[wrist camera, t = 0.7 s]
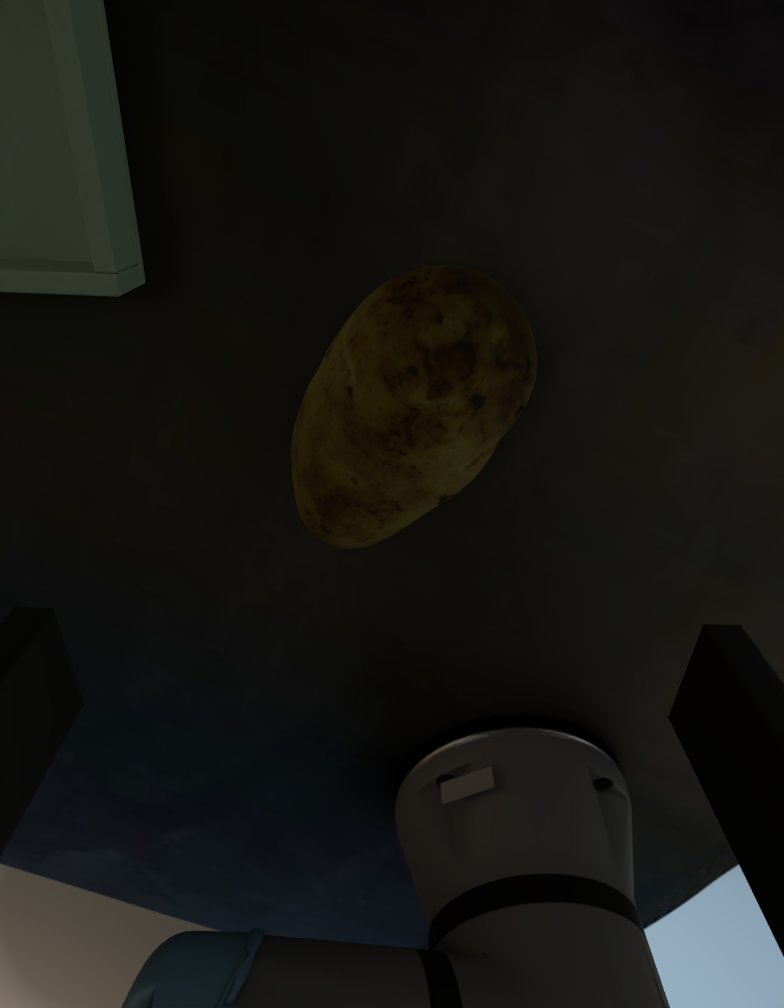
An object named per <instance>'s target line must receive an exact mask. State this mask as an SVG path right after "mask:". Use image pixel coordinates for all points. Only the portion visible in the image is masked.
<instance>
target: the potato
mask: <svg viewBox="0 0 784 1008" xmlns="http://www.w3.org/2000/svg"><path fill="white" fill-rule="evenodd" d="M537 375H538V347H537V346H536V345H535V340H534V336H533V333H532V330H531V327H530V324H529V322H528V320H527V318H526V316H525V314H524V312H523V310H522V308H521V307H520V305H519V304H518V303H517V302H516V300H515V299H514V298H513V297H512V295H510V294H509V293H508V292H507V291H506V290H505V289H504V288H503V287H502V286H501V285H500V284H499V283H498V282H497V281H495V280H494V279H493V278H491V277H490V276H488V275H486V274H484V273H483V272H481V271H479V270H476V269H473V268H470V267H466V266H461V265H439V264H427V265H425V266H423V267H421V268H418V269H414V270H411V271H408V272H406V273H403V274H401V275H399V276H397V277H395V278H393V279H391V280H389V281H387V282H386V283H384V284H382V285H381V286H379V287H378V288H377V289H376V290H374V291H373V292H372V293H371V294H370V295H369V296H368V297H367V298H366V299H365V300H364V301H363V302H362V303H361V304H360V305H359V306H358V308H357V309H356V310H355V311H354V312H353V314H352V315H351V316H350V317H349V318H348V320H347V321H346V323H345V324H344V325H343V327H342V328H341V330H340V331H339V333H338V334H337V336H336V337H335V339H334V340H333V342H332V344H331V345H330V347H329V349H328V351H327V352H326V354H325V356H324V358H323V361H322V363H321V364H320V366H319V368H318V370H317V372H316V374H315V375H314V377H313V378H312V380H311V381H310V383H309V385H308V388H307V390H306V392H305V395H304V397H303V400H302V403H301V406H300V409H299V412H298V415H297V419H296V422H295V427H294V432H293V437H292V444H291V472H292V479H293V486H294V493H295V500H296V504H297V508H298V511H299V514H300V517H301V519H302V521H303V523H304V524H305V526H306V527H307V529H308V530H309V531H310V532H311V533H312V535H313V536H315V537H316V538H318V539H319V540H321V541H323V542H325V543H327V544H330V545H333V546H337V547H340V548H350V549H353V548H362V547H366V546H370V545H373V544H376V543H378V542H380V541H382V540H384V539H386V538H388V537H390V536H391V535H393V534H395V533H396V532H398V531H400V530H401V529H403V528H405V527H406V526H408V525H409V524H411V523H412V522H414V521H415V520H416V519H418V518H419V517H421V516H422V515H424V514H425V513H427V512H428V511H430V510H431V509H433V508H434V507H436V506H437V505H439V504H440V505H441V504H443V503H444V502H445V501H449V500H451V499H453V498H454V497H456V496H458V495H459V494H460V491H461V489H462V488H464V487H465V486H466V485H467V484H468V483H469V482H471V481H472V480H473V479H474V478H475V477H476V475H477V474H478V473H479V472H480V470H481V469H482V468H483V467H484V465H485V464H486V463H487V461H488V460H489V458H490V457H491V455H492V454H493V452H494V450H495V448H496V446H497V445H498V443H499V440H500V438H501V437H502V436H503V435H504V434H505V433H506V432H507V431H508V430H509V429H510V428H511V426H512V425H513V424H514V423H515V422H516V420H517V419H518V417H519V416H520V414H521V413H522V411H523V409H524V408H525V406H526V404H527V402H528V400H529V397H530V394H531V393H532V392H531V391H532V389H533V386H534V382H535V379H536V377H537Z"/></svg>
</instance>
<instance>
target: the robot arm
mask: <svg viewBox="0 0 784 1008" xmlns="http://www.w3.org/2000/svg"><path fill="white" fill-rule="evenodd" d="M83 705H84V703H83V700H82V697H81V694H80V691H79V688H78V685H77V681H76V678H75V675H74V672H73V669H72V666H71V663H70V660H69V656H68V653H67V650H66V647H65V644H64V641H63V638H62V634H61V631H60V628H59V625H58V622H57V619H56V616H55V613H54V609H53V608H18V607H14V609H13V610H12V611H11V612H10V614H9V615H8V616H7V617H6V618H5V620H4V621H3V622H2V623H1V625H0V856H1V854H2V852H3V851H4V849H5V847H6V845H7V843H8V841H9V840H10V838H11V836H12V834H13V832H14V831H15V829H16V827H17V825H18V823H19V821H20V820H21V818H22V816H23V814H24V812H25V811H26V809H27V807H28V805H29V803H30V801H31V800H32V798H33V796H34V794H35V792H36V790H37V789H38V787H39V785H40V783H41V781H42V780H43V778H44V776H45V774H46V772H47V770H48V769H49V767H50V765H51V763H52V761H53V760H54V758H55V756H56V754H57V752H58V750H59V749H60V747H61V745H62V743H63V741H64V739H65V738H66V736H67V734H68V732H69V730H70V729H71V727H72V725H73V723H74V721H75V719H76V718H77V716H78V714H79V712H80V710H81V709H82V707H83ZM668 718H669V720H670V722H671V724H672V726H673V728H674V730H675V732H676V734H677V736H678V738H679V741H680V743H681V745H682V747H683V749H684V751H685V753H686V755H687V757H688V759H689V761H690V763H691V765H692V767H693V770H694V772H695V774H696V776H697V778H698V780H699V782H700V784H701V786H702V788H703V790H704V792H705V794H706V797H707V799H708V801H709V803H710V805H711V807H712V809H713V811H714V813H715V815H716V817H717V819H718V821H719V824H720V826H721V828H722V830H723V832H724V834H725V836H726V838H727V840H728V842H729V844H730V846H731V848H732V850H733V853H734V855H735V857H736V859H737V861H738V863H739V865H740V867H741V869H742V871H743V873H744V875H745V877H746V880H747V881H748V884H749V886H750V888H751V890H752V892H753V894H754V896H755V898H756V900H757V902H758V904H759V906H760V909H761V910H762V913H763V915H764V917H765V919H766V921H767V923H768V925H769V927H770V929H771V931H772V933H773V936H774V938H775V940H776V942H777V944H778V946H779V948H780V950H781V952H782V954H783V956H784V684H783V683H782V681H781V680H780V679H779V677H778V676H777V675H776V673H775V672H774V670H773V669H772V668H771V666H770V665H769V664H768V662H767V661H766V659H765V658H764V657H763V655H762V654H761V653H760V651H759V650H758V648H757V647H756V646H755V644H754V643H753V641H752V640H751V639H750V637H749V636H748V635H747V633H746V632H745V630H744V629H743V628H742V626H741V625H712V624H703V627H702V629H701V632H700V635H699V637H698V640H697V643H696V645H695V648H694V651H693V653H692V656H691V658H690V661H689V664H688V666H687V669H686V672H685V674H684V677H683V680H682V682H681V685H680V687H679V690H678V693H677V695H676V698H675V701H674V703H673V706H672V709H671V711H670V714H669V716H668ZM395 821H396V828H397V834H398V838H399V841H400V844H401V847H402V850H403V853H404V856H405V858H406V861H407V864H408V867H409V870H410V873H411V876H412V878H413V881H414V884H415V887H416V890H417V893H418V896H419V898H420V901H421V904H422V907H423V910H424V913H425V916H426V919H427V923H428V933H429V950H420V949H412V948H404V947H392V946H381V945H370V944H359V943H348V942H337V941H326V940H315V939H304V938H293V937H282V936H271V935H263V934H264V930H263V929H259V928H254V929H253V930H251V931H250V932H249V933H247V932H217V931H215V932H214V931H186V932H182V933H179V934H176V935H174V936H172V937H170V938H169V939H167V940H166V941H165V942H164V943H162V944H161V945H160V946H159V947H158V948H157V949H156V950H155V951H154V952H153V953H152V954H151V956H150V957H149V958H148V959H147V961H146V962H145V964H144V965H143V967H142V969H141V970H140V972H139V974H138V976H137V977H136V980H135V981H134V983H133V985H132V987H131V989H130V991H129V993H128V995H127V997H126V999H125V1001H124V1003H123V1005H122V1007H121V1008H670V1007H669V1004H668V1000H667V998H666V995H665V992H664V989H663V986H662V983H661V980H660V977H659V974H658V971H657V968H656V965H655V962H654V959H653V956H652V953H651V950H650V947H649V944H648V941H647V938H646V936H645V932H644V929H643V926H642V923H641V920H640V917H639V914H638V911H637V908H636V905H635V901H634V896H633V854H632V812H631V803H630V798H629V793H628V788H627V785H626V782H625V779H624V777H623V774H622V771H621V769H620V766H619V763H618V761H617V760H616V758H615V756H614V755H613V753H612V752H611V751H610V749H609V748H608V747H607V746H606V745H605V744H604V743H603V742H601V741H600V740H599V739H598V738H596V737H595V736H593V735H592V734H590V733H588V732H586V731H584V730H582V729H580V728H578V727H575V726H573V725H570V724H567V723H564V722H560V721H556V720H551V719H546V718H538V717H524V716H521V717H500V718H493V719H487V720H482V721H477V722H474V723H470V724H467V725H463V726H461V727H458V728H455V729H453V730H451V731H448V732H446V733H444V734H442V735H440V736H439V737H437V738H435V739H433V740H432V741H430V742H429V743H427V744H426V745H425V746H423V747H422V748H421V749H420V750H418V751H417V752H416V753H415V754H414V755H413V756H412V757H411V758H410V760H409V761H408V762H407V763H406V765H405V766H404V768H403V769H402V771H401V773H400V775H399V777H398V780H397V783H396V787H395Z"/></svg>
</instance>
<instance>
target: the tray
mask: <svg viewBox="0 0 784 1008" xmlns="http://www.w3.org/2000/svg"><path fill="white" fill-rule="evenodd" d="M145 282H146V281H145V274H144V267H143V261H142V254H141V248H140V241H139V234H138V228H137V221H136V214H135V208H134V201H133V194H132V188H131V181H130V174H129V168H128V161H127V155H126V148H125V141H124V135H123V128H122V121H121V115H120V108H119V101H118V95H117V88H116V81H115V75H114V68H113V62H112V55H111V48H110V42H109V35H108V28H107V22H106V15H105V8H104V2H103V0H0V292H16V293H41V294H66V295H92V296H117V297H118V296H121V295H123V294H125V293H126V292H128V291H130V290H132V289H134V288H136V287H138V286H140V285H142V284H144V283H145Z"/></svg>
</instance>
